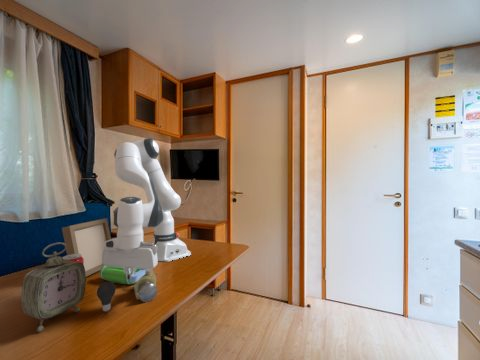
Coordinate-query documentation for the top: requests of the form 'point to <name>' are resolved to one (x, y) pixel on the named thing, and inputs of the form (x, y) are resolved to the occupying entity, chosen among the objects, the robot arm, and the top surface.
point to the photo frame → (88, 242)
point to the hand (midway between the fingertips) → (130, 278)
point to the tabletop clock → (53, 287)
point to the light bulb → (106, 294)
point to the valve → (146, 287)
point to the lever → (139, 275)
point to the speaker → (115, 274)
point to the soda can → (74, 258)
